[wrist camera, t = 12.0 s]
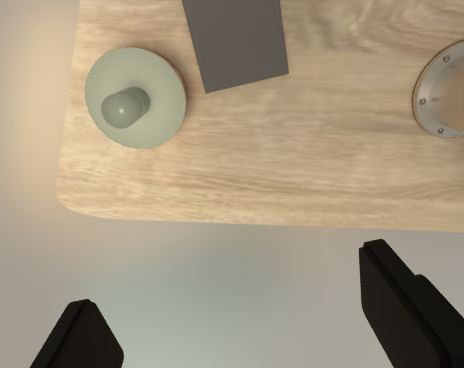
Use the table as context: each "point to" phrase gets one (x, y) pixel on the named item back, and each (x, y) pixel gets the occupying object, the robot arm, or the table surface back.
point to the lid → (135, 97)
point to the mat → (236, 41)
